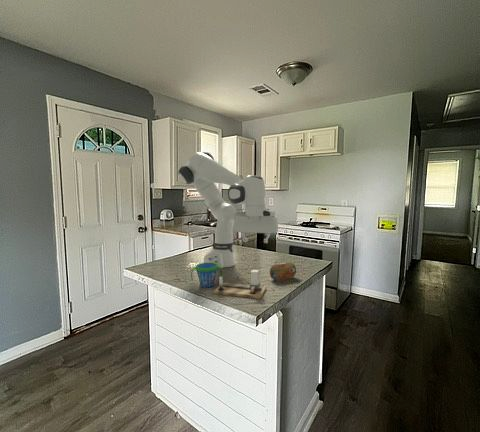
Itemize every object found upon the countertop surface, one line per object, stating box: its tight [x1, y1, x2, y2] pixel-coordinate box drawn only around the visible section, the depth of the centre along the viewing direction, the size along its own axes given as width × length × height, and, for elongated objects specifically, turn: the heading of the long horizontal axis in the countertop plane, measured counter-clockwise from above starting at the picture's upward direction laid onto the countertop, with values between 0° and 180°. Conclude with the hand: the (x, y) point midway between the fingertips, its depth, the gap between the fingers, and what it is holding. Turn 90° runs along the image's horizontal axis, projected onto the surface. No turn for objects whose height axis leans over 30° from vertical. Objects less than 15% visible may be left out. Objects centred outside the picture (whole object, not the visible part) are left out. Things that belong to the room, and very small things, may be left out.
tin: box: [269, 262, 297, 282], centre depth 140 cm, size 15×3×8 cm, turn 114°
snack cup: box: [190, 262, 224, 289], centre depth 132 cm, size 16×10×10 cm
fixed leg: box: [218, 276, 224, 290], centre depth 123 cm, size 2×2×6 cm
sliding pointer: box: [249, 269, 261, 293], centre depth 121 cm, size 4×7×8 cm, turn 162°
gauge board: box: [212, 281, 267, 300], centre depth 124 cm, size 22×12×2 cm, turn 72°
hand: (255, 242), depth 121 cm, fingers open, 8 cm apart
